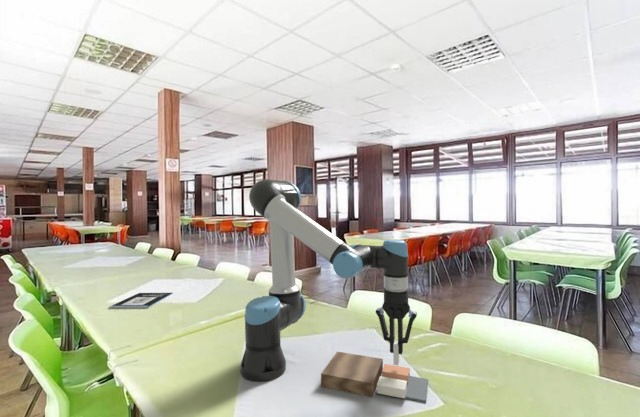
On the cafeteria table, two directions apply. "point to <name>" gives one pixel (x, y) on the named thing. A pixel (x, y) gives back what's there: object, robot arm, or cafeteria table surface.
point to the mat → (416, 389)
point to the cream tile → (392, 387)
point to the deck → (352, 373)
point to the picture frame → (141, 301)
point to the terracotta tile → (396, 372)
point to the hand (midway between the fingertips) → (396, 363)
